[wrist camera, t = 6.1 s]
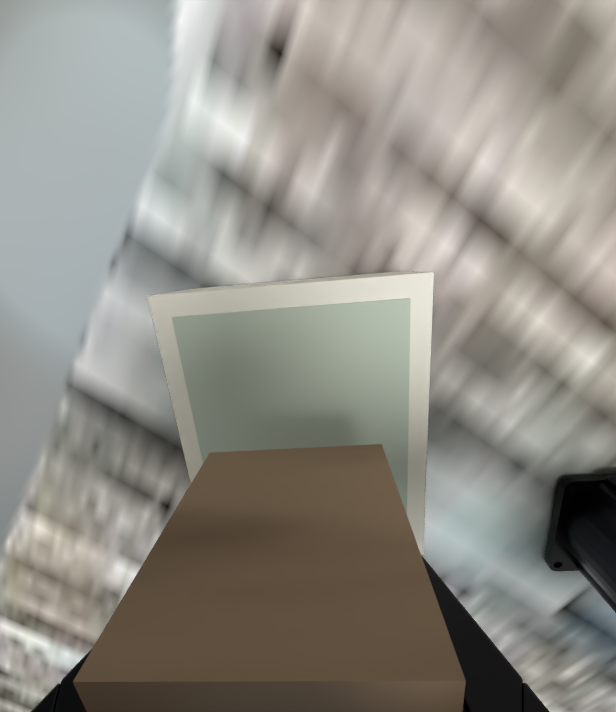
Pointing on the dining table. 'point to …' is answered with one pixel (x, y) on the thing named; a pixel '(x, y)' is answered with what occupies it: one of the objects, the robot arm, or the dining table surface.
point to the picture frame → (304, 369)
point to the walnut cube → (280, 597)
